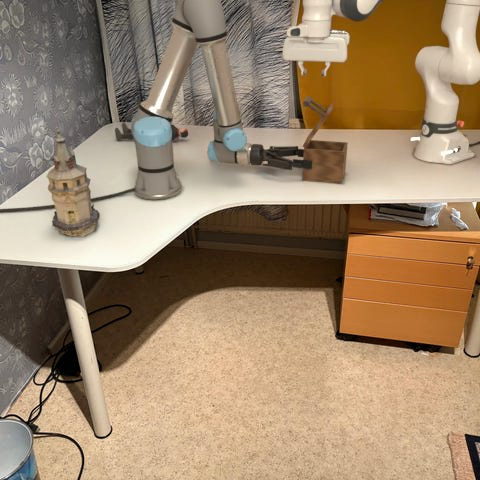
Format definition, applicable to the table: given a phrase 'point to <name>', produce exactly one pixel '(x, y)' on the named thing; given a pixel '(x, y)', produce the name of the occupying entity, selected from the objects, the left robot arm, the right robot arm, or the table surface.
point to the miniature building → (70, 193)
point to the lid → (321, 121)
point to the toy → (128, 135)
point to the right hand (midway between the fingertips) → (313, 75)
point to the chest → (325, 161)
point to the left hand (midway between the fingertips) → (314, 159)
